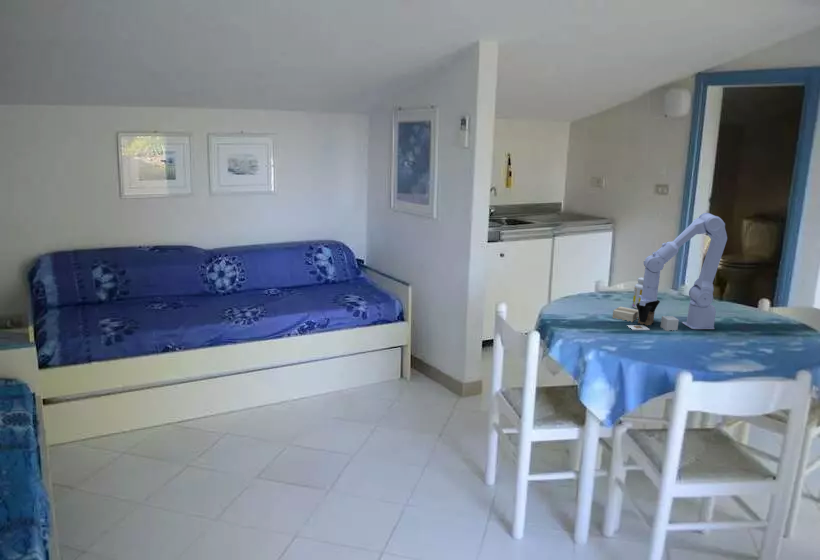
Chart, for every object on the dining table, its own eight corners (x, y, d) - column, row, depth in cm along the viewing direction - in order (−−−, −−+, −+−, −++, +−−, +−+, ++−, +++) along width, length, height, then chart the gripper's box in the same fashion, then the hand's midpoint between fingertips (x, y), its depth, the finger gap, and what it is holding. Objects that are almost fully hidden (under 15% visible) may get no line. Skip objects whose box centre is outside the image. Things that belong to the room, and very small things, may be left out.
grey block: (671, 327, 256) (672, 316, 255) (677, 331, 252) (678, 319, 251) (660, 327, 255) (661, 316, 254) (666, 331, 251) (667, 319, 250)
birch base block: (619, 314, 271) (620, 306, 270) (638, 318, 267) (639, 310, 266) (612, 318, 265) (613, 310, 264) (632, 322, 260) (633, 314, 259)
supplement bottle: (651, 309, 280) (655, 279, 277) (641, 311, 276) (645, 281, 273) (638, 305, 285) (642, 276, 282) (628, 306, 282) (632, 277, 278)
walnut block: (641, 321, 263) (643, 310, 262) (653, 323, 260) (654, 312, 259) (637, 323, 259) (639, 312, 258) (649, 326, 256) (650, 315, 255)
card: (643, 325, 256) (643, 325, 256) (649, 330, 251) (649, 329, 251) (626, 325, 255) (626, 324, 255) (632, 330, 250) (632, 329, 250)
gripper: (646, 281, 264) (642, 313, 267) (633, 287, 253) (629, 321, 256) (664, 284, 260) (659, 317, 263) (652, 291, 248) (647, 325, 252)
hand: (645, 319), depth 259 cm, fingers open, 7 cm apart
